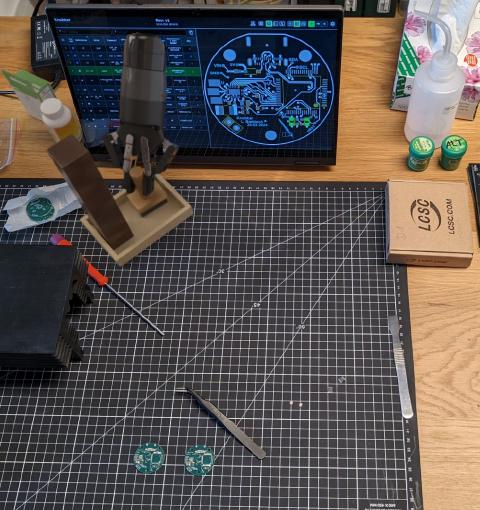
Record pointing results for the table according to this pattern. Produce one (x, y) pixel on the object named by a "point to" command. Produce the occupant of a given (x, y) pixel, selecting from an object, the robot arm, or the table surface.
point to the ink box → (30, 91)
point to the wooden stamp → (145, 202)
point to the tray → (144, 222)
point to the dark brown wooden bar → (90, 190)
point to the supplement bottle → (59, 120)
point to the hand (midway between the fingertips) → (138, 193)
